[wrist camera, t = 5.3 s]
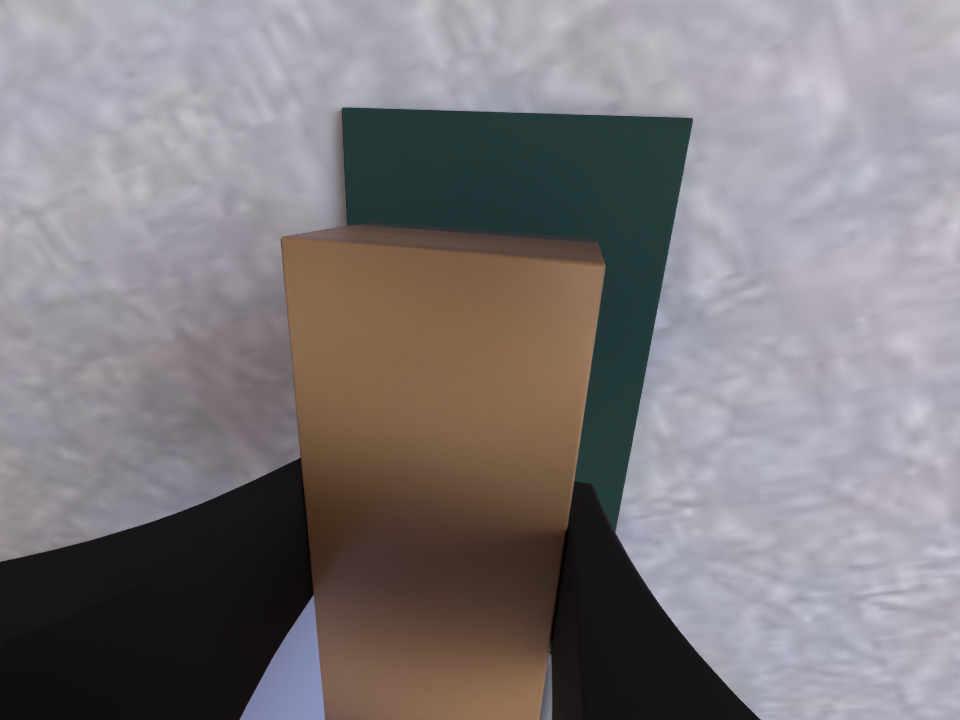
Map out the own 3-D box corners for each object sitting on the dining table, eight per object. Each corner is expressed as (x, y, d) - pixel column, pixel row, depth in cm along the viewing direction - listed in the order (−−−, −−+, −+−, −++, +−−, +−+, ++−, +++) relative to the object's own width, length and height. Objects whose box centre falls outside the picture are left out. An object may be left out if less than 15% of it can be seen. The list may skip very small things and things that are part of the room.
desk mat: (603, 583, 20) (604, 590, 20) (364, 538, 22) (361, 544, 22) (690, 119, 14) (693, 117, 14) (346, 109, 16) (340, 107, 16)
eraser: (540, 650, 14) (528, 792, 11) (382, 615, 15) (325, 738, 12) (597, 237, 10) (605, 263, 7) (372, 221, 11) (279, 236, 7)
